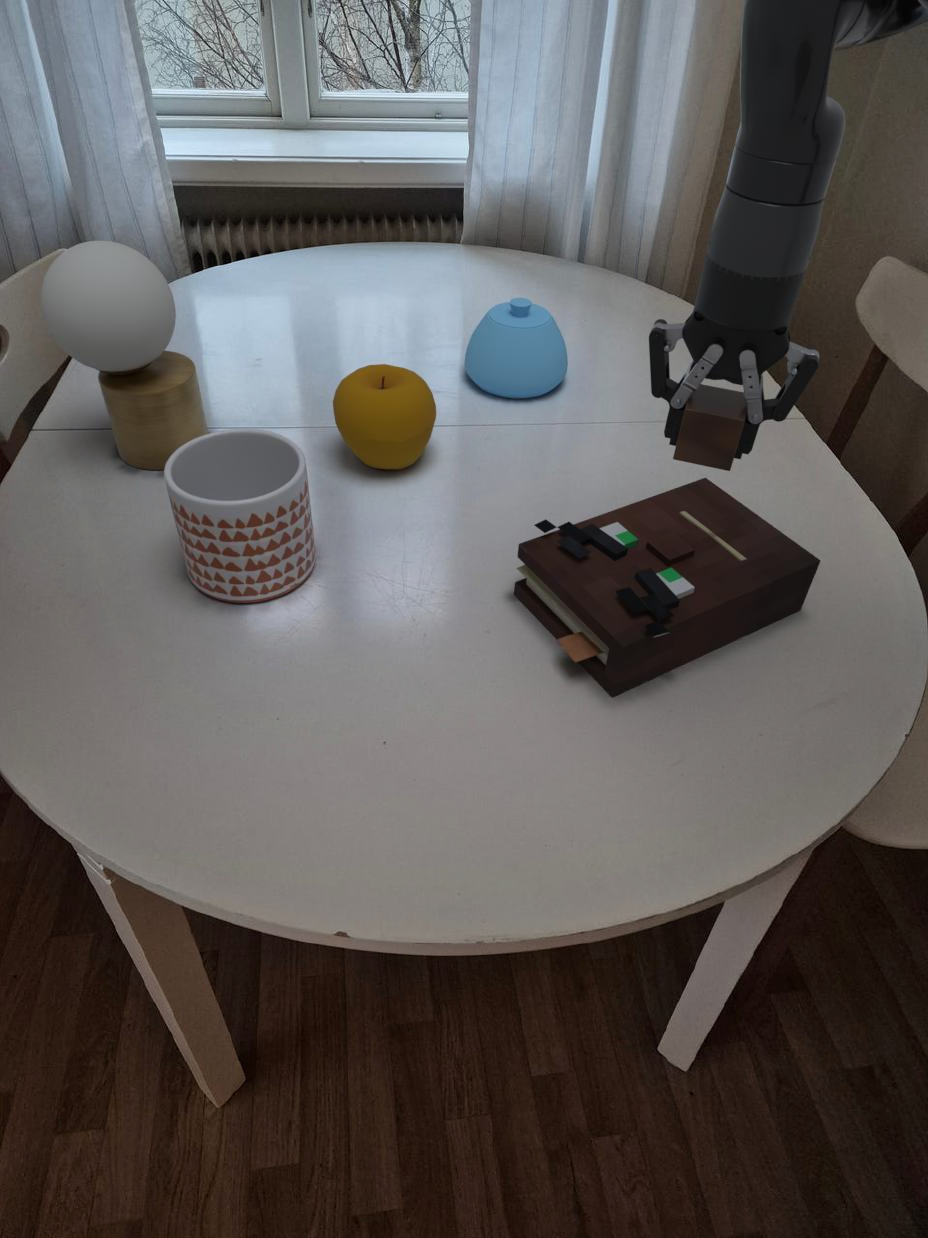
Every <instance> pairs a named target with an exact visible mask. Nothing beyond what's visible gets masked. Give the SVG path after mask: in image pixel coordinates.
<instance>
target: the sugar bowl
mask: <svg viewBox="0 0 928 1238" xmlns="http://www.w3.org/2000/svg"><path fill="white" fill-rule="evenodd" d="M568 360H569V359H568V350H567V345H566V341H565V339H564V336H563V334H562V331H561V329H560V328H559V326H558V323H557V322H556V320H555V319H554V317H553V315H552V313H551V312H550V311H549V310H548V309H547V308H545V307H544V306H541V305H538V304H536V303H532V301H531V300H530V299H528V298H525V297H515V298H511V299H510V300H509V301H505V302H501V303H498V304H496V305H493V306H492V307H491V308H489V310H488V311H487V312H486V313H485V314H484V316H482V318H481V320H480V321H479V323H478V324H477V325H476V327H475V329H474V330H473V331H472V334H471V335H470V338H469V341H468V343H467V346H466V350H465V354H464V368H465V371H466V373H467V375H468V376H469V378H470V379H471V380H472V381H473V382H474V383H475V385H476V386H477V387H478V388H480V389H481V390H483V391H484V392H486V393H488V394H490V395H494V396H497V397H501V398H507V399H531V398H536V397H540V396H541V397H542V396H544V395H546V394H547V393H549V392H551V391H552V390H554V389H555V388H556V387H557V386H558V385H559V384H560V383H561V382H562V381H563V380H564V379H565V376H566V375H567V372H568V367H569V361H568Z"/></svg>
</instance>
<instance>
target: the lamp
mask: <svg viewBox="0 0 928 1238" xmlns="http://www.w3.org/2000/svg"><path fill="white" fill-rule="evenodd" d="M40 300H41V301H40V304H41V305H40V306H41V311H42V315H43V319H44V322H45V324H46V327H47V329H48V331H49V333H50V335H51V337H52V338H53V339H54V341H55V342H56V343H57V345H58V346H59V348H61V349H62V350H63V351H64V352H65V353H66V354H67V355H68V356H69V357H71V358H72V359H73V360H75V361H76V362H78V363H80V364H82V365H83V366H85V367H88V368H91V369H95V370H96V371H98V375H97V380H98V384H99V387H100V388H99V389H100V391H101V394H102V398H103V403H104V406H105V409H106V411H107V416H108V419H109V423H110V426H111V431H112V434H113V437H114V440H115V444H116V449H117V452H118V456H119V457H120V458H121V460H122V461H123V462H124V463H126V464H127V465H129V466H131V467H134V468H137V469H141V470H146V471H164V469H165V465H166V463H167V461H168V459H169V458H170V456H171V455H172V454H173V453H174V452H175V451H176V450H177V449H178V448H180V447H181V446H182V445H184V444H185V443H187V442H189V441H191V440H193V439H195V438H198V437H200V436H203V435H206V434H209V430H208V425H207V420H206V419H207V418H206V415H205V409H204V404H203V399H202V395H201V388H200V383H199V377H198V374H197V373H198V372H197V369H196V365H195V363H194V361H193V360H192V359H191V358H190V357H189V356H187V355H185V354H182V353H180V352H176V351H171V350H166V349H167V348H168V345H169V344H170V343H171V341H172V338H173V336H174V335H173V334H174V331H175V327H176V318H177V314H176V313H177V312H176V303H175V299H174V295H173V292H172V290H171V287H170V285H169V283H168V281H167V279H166V278H165V276H164V275H163V274H162V271H160V268H158V267H157V266H156V265H155V263H153V262H152V261H151V260H150V259H149V258H148V257H146V256H145V255H144V254H142V253H141V252H139V251H138V250H136V249H134V248H132V247H130V246H128V245H126V244H122V243H119V242H115V241H110V240H89V241H85V242H80V243H77V244H76V245H75V244H74V245H73V246H71V247H69V248H67V249H66V250H65V251H63V252H62V253H60V254H59V255H58V256H57V257H56V258H55V259H54V261H53V262H52V263H51V264H50V266H49V267H48V269H47V271H46V273H45V276H44V278H43V282H42V286H41V291H40Z"/></svg>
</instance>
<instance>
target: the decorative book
mask: <svg viewBox="0 0 928 1238" xmlns="http://www.w3.org/2000/svg"><path fill="white" fill-rule="evenodd" d="M533 526H534V527H536V528H537V529H538V530H539V531H541V532H542V533H544V534H543V535H540V536H537V537H534V538H531V539H529V540H525V541H523V542H520V543H518V545H517V546H518V547H517V556H516V557H517V558H518V559H519V560H520V561H521V562H522V563H523V565H521V566H518V567H516V570H517V571H518V572H519V573H520V574H521V575H523V577H524V578H522V579H519V580H516V581H514V590H513V596H515V597H516V598H517V599H518V600H519V601H520V602H521V603H522V605H524V607H526V608H527V610H528V611H529V612H530V613H531V614H532V615H533V616H534V617H535V618H536V619H537V620H538V621H539V622H540V624H542V625H543V627H544V628H546V630H547V631H548V632H549V633H550V634H551V635H552V636H553V637H554V638H555V639H556V641H557V642H558V644H559V645H560V646H561V647H562V649H563V650H564V651H565V652H566V654H567V656H569V657H570V659H571V660H572V661H573V663H579V664H580V666H582V668H583V669H584V670H585V671H586V672H587V673H588V674H589V675H590V676H591V677H592V678H593V679H594V680H595V681H596V682H597V683H598V684H599V685H600V686H601V687H602V689H603V690H604V691H605V692H606V693H607V694H608V695H609V696H610V697H611V698H614V697H617V696H620V695H622V694H623V693H625V692H627V691H630V690H632V689H634V688H636V687H638V686H640V685H642V684H645V683H647V682H649V681H652V680H653V679H656V678H657V677H661V676H662V675H664V674H666V673H669V672H671V671H672V670H675V669H677V668H679V667H682V666H684V665H686V664H688V663H690V662H692V661H694V660H697V659H698V658H701V657H703V656H705V655H707V654H709V653H711V652H714V651H717V650H718V649H720V648H722V647H725V646H726V645H728V644H731V643H733V642H735V641H737V640H740V639H742V638H744V637H745V636H748V635H750V634H752V633H755V632H757V631H759V630H761V629H763V628H766V627H768V626H770V625H772V624H775V623H776V622H779V621H780V620H783V619H785V618H788V616H791V615H793V614H796V613H797V612H800V611H801V610H802V608H803V606H804V603H805V601H806V598H807V596H808V594H809V591H810V588H811V585H812V583H813V581H814V578H815V576H816V573H817V571H818V568H819V565H820V564H821V559H819V558H818V557H816V556H815V555H814V554H812V553H811V552H809V551H808V550H807V549H806V548H804V547H803V546H802V545H800V544H799V543H797V542H796V541H794V540H793V539H792V538H790V537H789V536H788V535H786V534H784V533H783V532H782V531H781V530H779V529H778V528H776V527H775V526H774V525H772V524H771V523H769V522H768V521H767V520H766V519H763V517H761V516H759V515H758V514H757V513H755V512H754V511H753V510H751V509H750V508H749V507H748V506H746V505H745V504H744V503H741V502H740V501H739V500H737V499H736V498H735V497H734V496H732V495H730V494H729V493H728V492H726V491H725V490H724V489H722V488H721V487H719V486H718V485H717V484H715V483H714V482H713V481H711V480H710V479H709V478H707V477H703V478H699V479H698V480H695V481H692V482H689V483H686V484H683V485H681V486H678V487H675V488H672V489H670V490H665V491H663V492H661V493H658V494H654V495H653V496H650V497H647V498H644V499H641V500H639V501H636V502H632V503H630V504H627V505H625V506H621V507H619V508H616V509H613V510H611V511H608V512H605V513H601V514H598V515H596V516H593V517H591V518H587V519H585V520H582V521H579V522H576V523H574V524H573V523H572V522H571V521H566V522H564V523H562V524H561V525H558V526H556V525H554V524H553V523H552V522H550V520H547V519H543V520H541V521H539V522H537V523H535V524H533ZM556 528H557V530H554V529H556ZM552 530H554V531H552ZM550 531H551V532H550Z"/></svg>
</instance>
